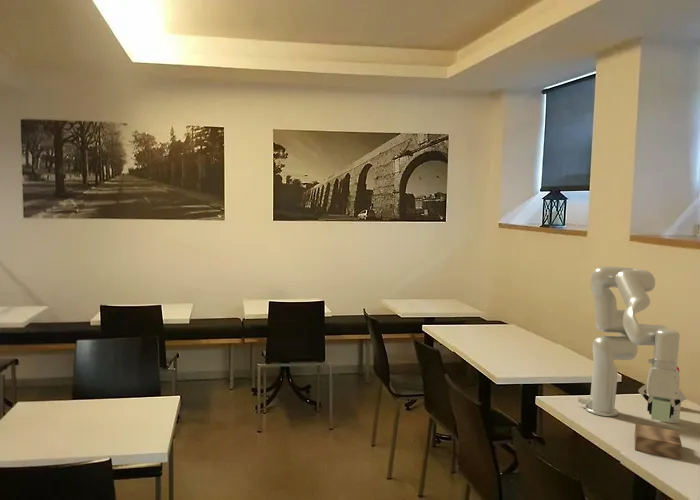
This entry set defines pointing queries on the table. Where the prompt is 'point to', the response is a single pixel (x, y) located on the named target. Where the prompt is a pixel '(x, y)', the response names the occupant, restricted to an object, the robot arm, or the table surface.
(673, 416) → the supplement box
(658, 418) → the sage block
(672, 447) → the walnut riser block
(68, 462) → the table surface
